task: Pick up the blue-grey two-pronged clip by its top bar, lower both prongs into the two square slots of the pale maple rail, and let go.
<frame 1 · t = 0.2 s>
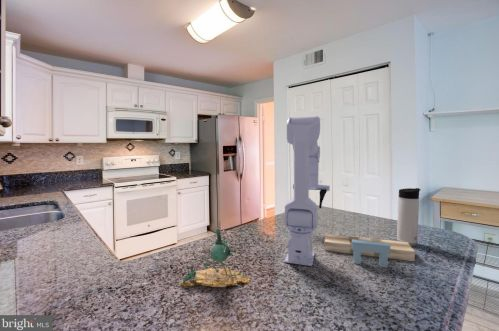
hand: (310, 207, 103), 10 cm above the countertop, fingers open, 7 cm apart
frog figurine: (216, 281, 65), on the countertop
rail: (365, 250, 84), on the countertop
travel mug: (407, 243, 90), on the countertop
clip: (369, 263, 74), on the countertop
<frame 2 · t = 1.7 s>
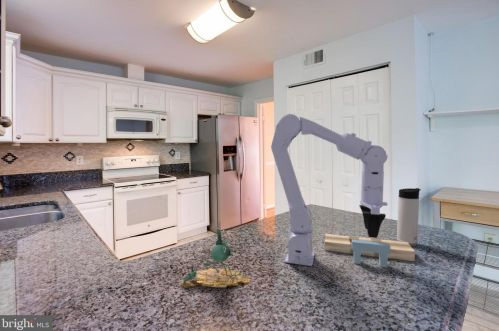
hand: (370, 232, 74), 9 cm above the countertop, fingers open, 7 cm apart
nothing on the countertop moved.
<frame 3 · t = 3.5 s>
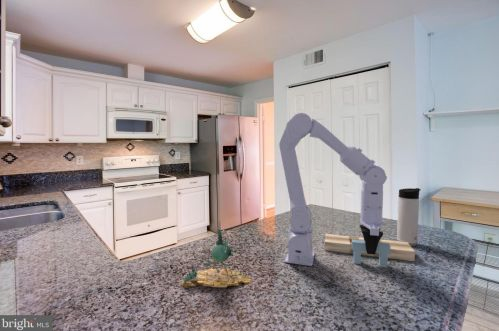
hand: (370, 251, 74), 4 cm above the countertop, fingers closed on clip, 2 cm apart
clip: (369, 263, 74), on the countertop, touching gripper
everything else where it was.
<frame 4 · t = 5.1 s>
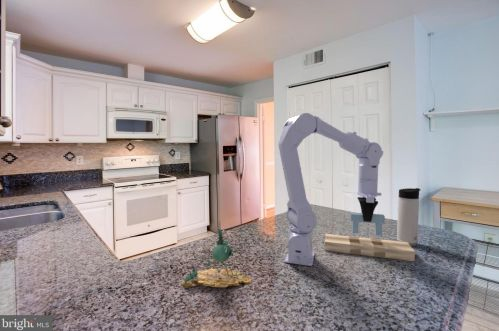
hand: (366, 220, 83), 10 cm above the countertop, fingers closed on clip, 2 cm apart
clip: (366, 233, 83), point 6 cm above the countertop, touching gripper
everything else where it was.
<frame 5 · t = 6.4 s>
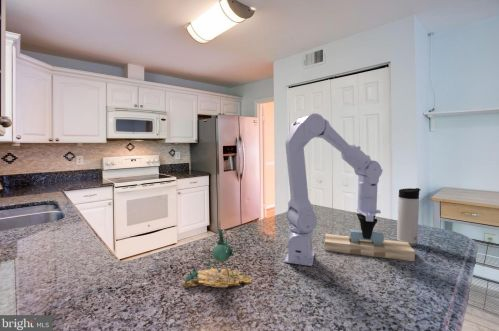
hand: (366, 237, 83), 5 cm above the countertop, fingers closed on clip, 2 cm apart
clip: (365, 250, 84), resting in rail, touching gripper
everything else where it was.
when the fingers open (5 cm above the countertop, at t = 7.0 s): clip stays where it is, resting in rail.
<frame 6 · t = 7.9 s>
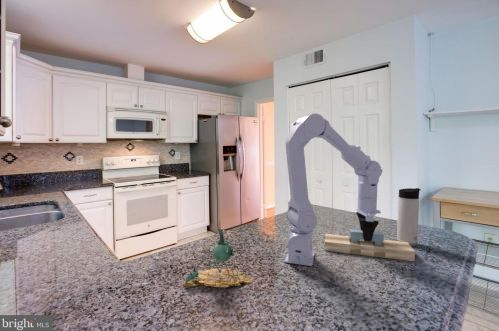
hand: (366, 237, 83), 5 cm above the countertop, fingers open, 7 cm apart
clip: (365, 250, 84), resting in rail
everything else where it was.
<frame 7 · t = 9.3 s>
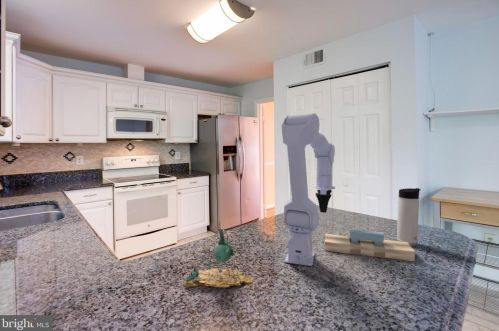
hand: (323, 209, 97), 10 cm above the countertop, fingers open, 7 cm apart
nothing on the countertop moved.
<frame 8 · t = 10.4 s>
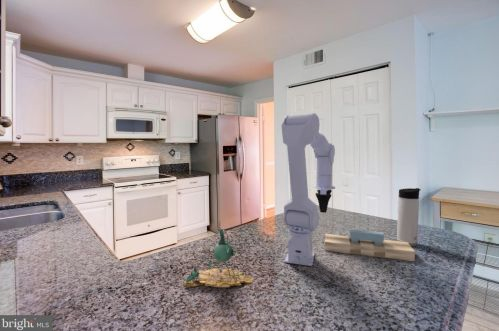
hand: (323, 209, 97), 10 cm above the countertop, fingers open, 7 cm apart
nothing on the countertop moved.
at the end: clip 0.0 cm off-centre on the rail, point 0.0 cm above the rail's base; clip tilted 0°; the gripper is holding nothing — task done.
